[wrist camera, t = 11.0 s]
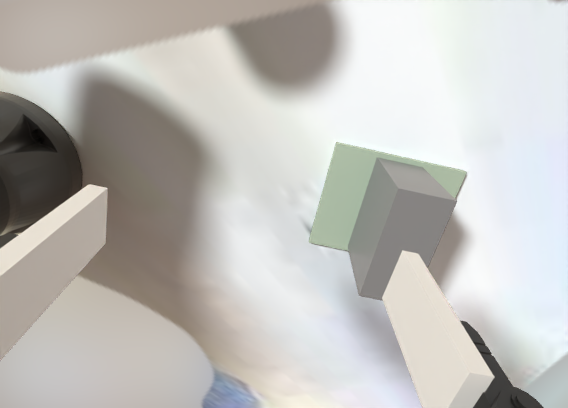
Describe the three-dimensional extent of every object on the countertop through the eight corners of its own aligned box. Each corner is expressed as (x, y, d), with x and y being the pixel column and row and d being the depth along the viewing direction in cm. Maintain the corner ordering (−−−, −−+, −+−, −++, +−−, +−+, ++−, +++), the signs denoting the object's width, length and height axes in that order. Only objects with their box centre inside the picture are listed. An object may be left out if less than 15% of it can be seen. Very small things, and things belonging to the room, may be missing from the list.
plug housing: (347, 246, 42) (359, 295, 34) (376, 157, 38) (398, 188, 29) (389, 255, 42) (410, 306, 34) (423, 167, 38) (457, 201, 30)
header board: (308, 240, 43) (310, 266, 37) (336, 141, 38) (342, 156, 33) (423, 264, 43) (439, 293, 38) (464, 170, 38) (489, 189, 33)
